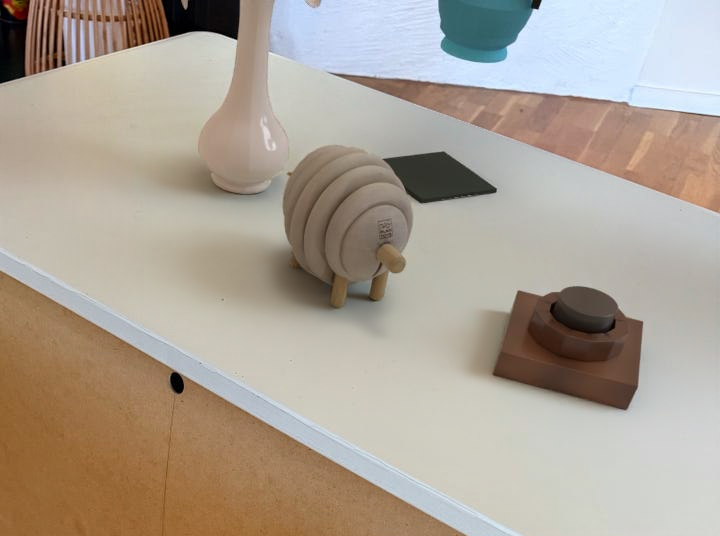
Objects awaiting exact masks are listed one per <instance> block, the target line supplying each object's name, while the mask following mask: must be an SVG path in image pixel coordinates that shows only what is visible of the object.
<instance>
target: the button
mask: <svg viewBox="0 0 720 536" xmlns="http://www.w3.org/2000/svg"><path fill="white" fill-rule="evenodd" d="M559 292H560V293H559V296H558V298H557V301H556V304H555V306H554V309H553V312H552V316H553V317H554V318H555V320H556V321H557V322H559V323H561V324H563V325H564V326H566V327H568V328H570V329H572V330H575V331H579V332H583V333H587V334H603V333H607V332H608V331H609V330H610V328H611V325H612V323H613V321H614V318H615V316H616V314H617V311H618V308H619V305H618V302H617V301H616V300H615V299H614V297H612V296H610V295H609V294H607V293H606V292H603V291H602V290H599V289H596V288H593V287H588V286H583V285H582V286H581V285H573V286H567V287H565V288H563V289H561V290H560V291H559Z"/></svg>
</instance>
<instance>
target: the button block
mask: <svg viewBox="0 0 720 536" xmlns="http://www.w3.org/2000/svg"><path fill="white" fill-rule="evenodd" d="M560 292H561V291H551V292H549V293H546V294H544V295H539V294H535V293H531V292H527V291H523V290H518V289H517V292H516V294H515V297H514V300H513V303H512V306H511V309H510V312H509V315H508V318H507V322H506V326H505V329H504V333H503V336H502V340H501V343H500V348H499V350H498V354H497V358H496V361H495V365H494V368H493V372H492V375H493V376H495V377H500V378H504V379H508V380H511V381H515V382H518V383H524V384H527V385H530V386H534V387H538V388H542V389H546V390H550V391H553V392H557V393H560V394H565V395H569V396H572V397H576V398H579V399H583V400H587V401H591V402H594V403H598V404H603V405H606V406H611V407H614V408H617V409H622V410H625V411H627V410H628V408H629V407H630V405H631V403H632V401H633V398H634V396H635V395H636V392H637V390H638V388H639V380H640V379H639V378H640V369H641V368H640V367H641V355H642V341H643V329H644V321H643V320H641V319H635V318H631V317H627V316H626V315H625V314H624V312H623V311H622V310H621V309H620V308H619V307H618V311H617V314H616V316H615V318H614V321H613V323H612V325H611V328H610V330H609V331H608V332H607V333H603V334H587V333H583V332H579V331H575V330H572V329H570V328H568V327H566V326H564V325H563V324H561V323H559V322H557V321H556V320H555V318H554V317H553V316H552V312H553V309H554V306H555V304H556V301H557V298H558V296H559V293H560Z"/></svg>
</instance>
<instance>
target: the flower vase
mask: <svg viewBox="0 0 720 536" xmlns="http://www.w3.org/2000/svg"><path fill="white" fill-rule="evenodd" d="M188 1H189V0H181V4H182V6H183V8H184V10H187V8H188V3H189V2H188ZM304 1H305V3H306V4H307V6H309V7H310V8H312V9H317V8H318V7H320V5H321V4H322V0H304ZM275 2H276V0H239V22H238V30H237V31H238V32H237V40H236V48H235V49H236V50H235V58H234V66H233V71H232V77H231V80H230V81H231V82H230V85H229V88H228V91H227V93H226V96H225V97H224V100H223V102H222V104H221V106H220V107H218V109H217V110H216V111H215V112H214V113H213V114H212V115H211V116H210V117H209V118H208V119H207V121H206V122H205V123H204V124H203V126H202V127H201V129H200V132H199V136H198V141H197V152H198V154H199V157H200V158H201V161H202V162H203V164H204V165H205V167H206V169H208V170H209V171H210V178H211V181H212V182H213V184H214V185H215V186H217V187H218V188H220V189H221V190H224V191H227V192H230V193H234V194H241V195H253V194H257V193H263V192H264V191H265V190H267V189H268V188H269V187H270V185H271V183H272V179H273V178H275V177H276V176H277V175H279V174H280V172H282V170H284V168H285V166H286V165H287V163H288V161H289V159H290V153H291V151H290V141H289V137H288V135H287V132H286V130H285V128H284V126H283V125H282V124H281V122H280V120H279V119H278V118H277V116H276V115H275V112H274V109H273V107H272V102H271V98H270V92H269V83H268V75H269V74H268V73H269V55H270V53H269V52H270V42H271V41H270V40H271V27H272V18H273V13H274V12H273V11H274V7H275Z"/></svg>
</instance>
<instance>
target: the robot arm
mask: <svg viewBox="0 0 720 536" xmlns="http://www.w3.org/2000/svg"><path fill="white" fill-rule="evenodd" d="M542 1H543V0H532V4H531V9H533V10H536V11H539V9H540V6H541V4H542Z"/></svg>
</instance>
